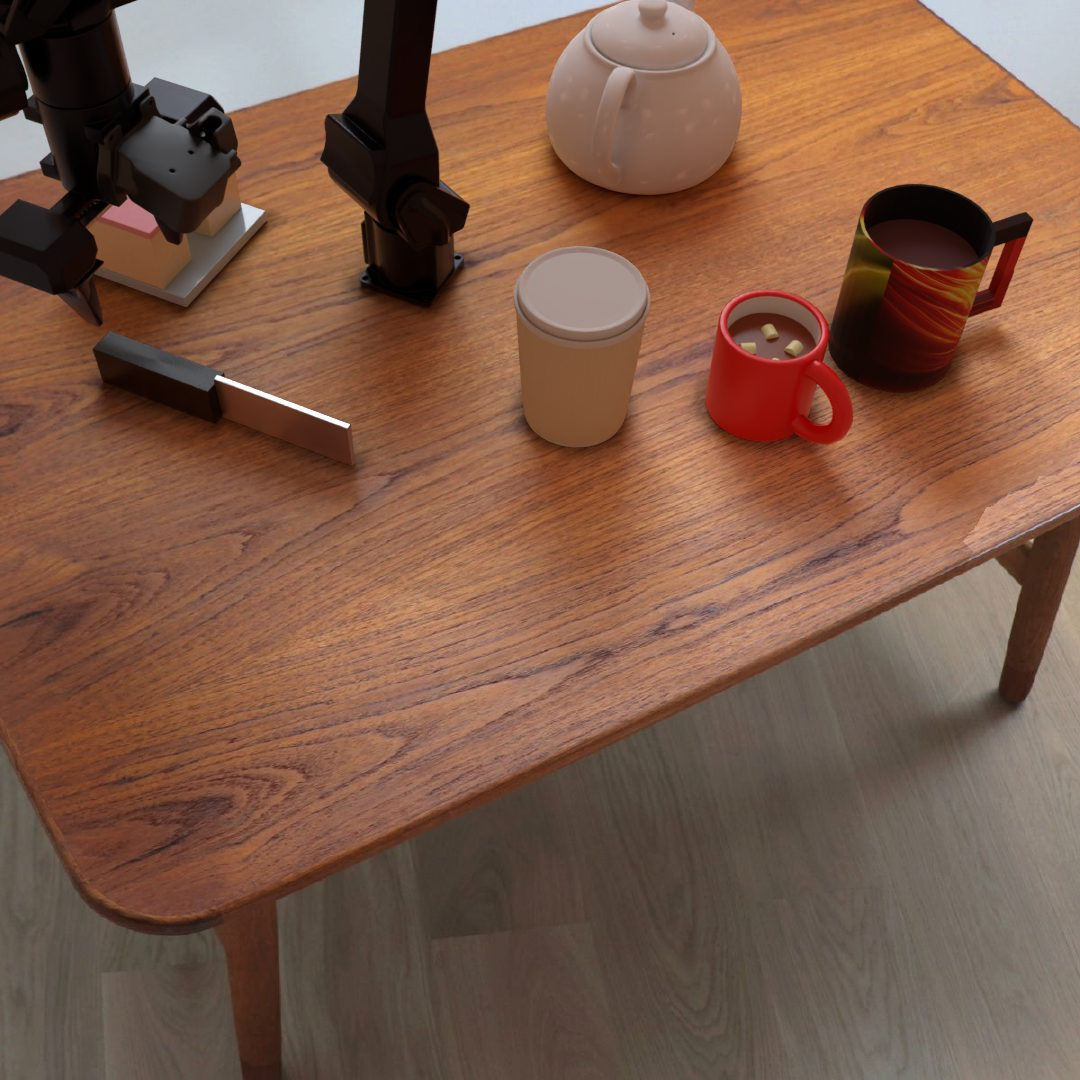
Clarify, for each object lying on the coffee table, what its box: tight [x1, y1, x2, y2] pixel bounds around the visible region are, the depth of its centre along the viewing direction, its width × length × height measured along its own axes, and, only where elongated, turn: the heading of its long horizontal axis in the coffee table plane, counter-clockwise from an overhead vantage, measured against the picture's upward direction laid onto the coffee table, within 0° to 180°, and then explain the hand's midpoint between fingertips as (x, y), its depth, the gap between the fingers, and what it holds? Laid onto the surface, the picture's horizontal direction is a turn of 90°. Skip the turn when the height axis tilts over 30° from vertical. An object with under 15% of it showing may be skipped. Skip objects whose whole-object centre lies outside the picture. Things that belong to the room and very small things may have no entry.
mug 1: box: [704, 289, 854, 446], centre depth 99 cm, size 8×12×8 cm, turn 43°
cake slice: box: [88, 195, 192, 289], centre depth 107 cm, size 8×4×6 cm, turn 65°
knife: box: [92, 330, 356, 467], centre depth 99 cm, size 21×2×4 cm, turn 65°
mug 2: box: [827, 183, 1034, 393], centre depth 103 cm, size 10×14×12 cm
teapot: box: [545, 0, 743, 196], centre depth 116 cm, size 19×18×14 cm
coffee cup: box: [513, 245, 652, 448], centre depth 97 cm, size 9×9×12 cm
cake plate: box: [93, 171, 268, 308], centre depth 110 cm, size 12×12×7 cm
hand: (136, 282), depth 93 cm, fingers open, 9 cm apart
